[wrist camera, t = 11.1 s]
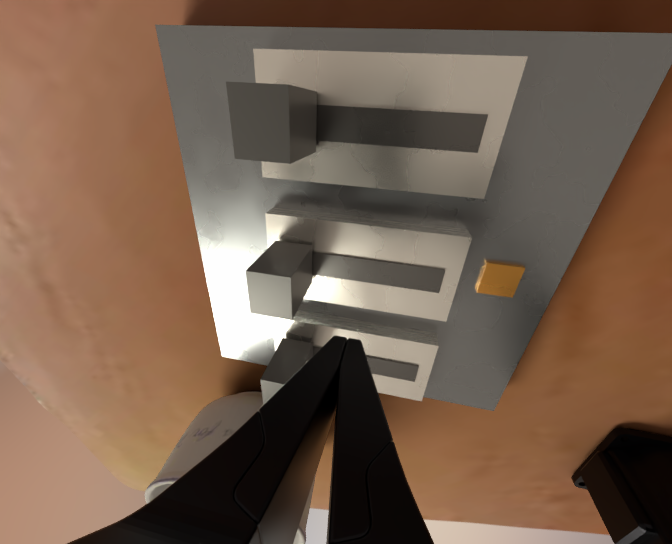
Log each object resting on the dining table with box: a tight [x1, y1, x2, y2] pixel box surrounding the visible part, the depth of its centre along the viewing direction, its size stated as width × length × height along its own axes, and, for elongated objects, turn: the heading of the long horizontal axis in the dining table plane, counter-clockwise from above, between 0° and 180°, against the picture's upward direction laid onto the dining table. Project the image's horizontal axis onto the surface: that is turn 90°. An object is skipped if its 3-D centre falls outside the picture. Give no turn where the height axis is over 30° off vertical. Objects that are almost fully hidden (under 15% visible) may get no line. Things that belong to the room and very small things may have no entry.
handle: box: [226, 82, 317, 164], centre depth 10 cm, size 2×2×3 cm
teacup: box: [145, 391, 315, 544], centre depth 22 cm, size 14×11×8 cm
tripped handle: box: [245, 241, 313, 320], centre depth 13 cm, size 2×2×3 cm
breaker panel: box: [155, 25, 672, 411], centre depth 15 cm, size 18×18×3 cm
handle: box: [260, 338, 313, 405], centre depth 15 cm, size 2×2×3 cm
